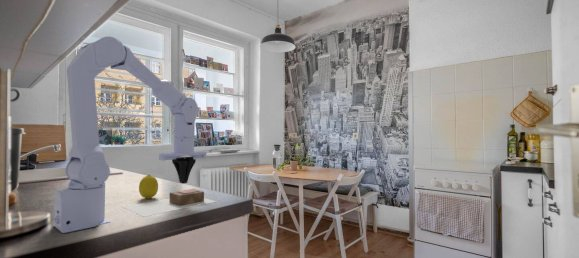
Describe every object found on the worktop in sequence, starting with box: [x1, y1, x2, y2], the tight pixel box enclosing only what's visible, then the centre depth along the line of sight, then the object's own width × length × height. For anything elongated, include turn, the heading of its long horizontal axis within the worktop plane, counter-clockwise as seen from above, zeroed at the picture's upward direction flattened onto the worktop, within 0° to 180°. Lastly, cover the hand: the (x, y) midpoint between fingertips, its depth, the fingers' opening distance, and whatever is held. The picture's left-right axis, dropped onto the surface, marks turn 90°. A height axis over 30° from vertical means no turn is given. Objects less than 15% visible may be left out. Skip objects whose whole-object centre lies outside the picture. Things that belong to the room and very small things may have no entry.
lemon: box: [138, 174, 159, 200], centre depth 95 cm, size 6×6×8 cm
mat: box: [121, 197, 217, 217], centre depth 88 cm, size 22×14×1 cm, turn 140°
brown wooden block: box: [169, 188, 205, 206], centre depth 91 cm, size 3×6×8 cm
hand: (183, 182), depth 90 cm, fingers closed
